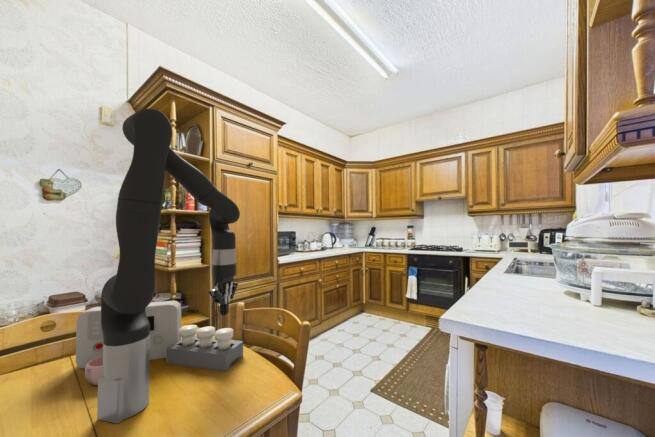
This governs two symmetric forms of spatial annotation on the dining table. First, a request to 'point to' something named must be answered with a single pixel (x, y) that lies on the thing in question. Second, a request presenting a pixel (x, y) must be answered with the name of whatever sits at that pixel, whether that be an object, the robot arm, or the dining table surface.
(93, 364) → the mug
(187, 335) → the knob
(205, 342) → the knob
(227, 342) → the knob
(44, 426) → the dining table surface
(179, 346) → the mount
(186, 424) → the dining table surface
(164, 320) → the rounded white slab
